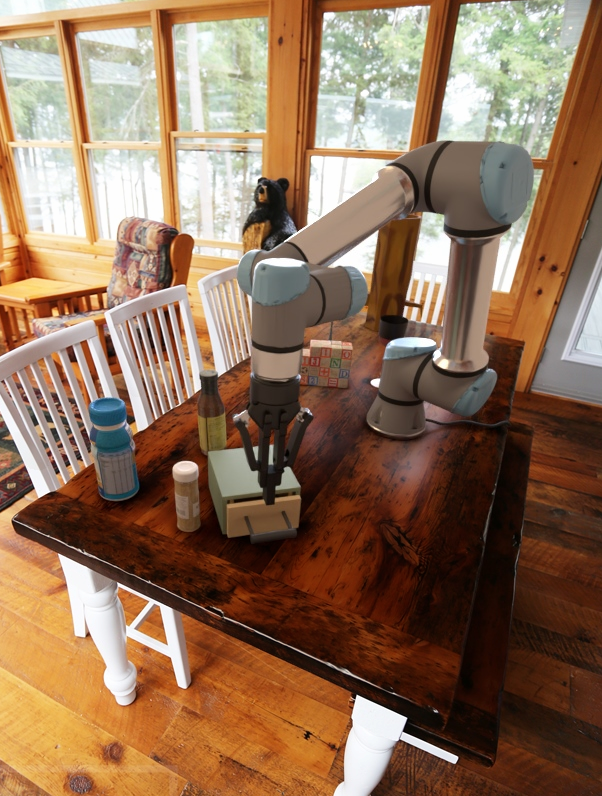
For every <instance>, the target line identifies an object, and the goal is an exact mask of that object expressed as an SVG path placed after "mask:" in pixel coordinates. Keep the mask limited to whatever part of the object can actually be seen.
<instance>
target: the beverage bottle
mask: <svg viewBox="0 0 602 796" xmlns="http://www.w3.org/2000/svg"><path fill="white" fill-rule="evenodd" d="M126 406H127V405H126V403H125V401H124V400H123V399H121V398H117V397H112V396H108V397H100V398H97V399H94V400H93V401H91V402H90V403H89V404H88V408H87V409H88V414H89V419H90V420H89V421H90V422H91V424H92V426H91V428H90V431H89V436H88V438H89V442H90V453H91V456H92V458H93V464H94V469H95V475H96V480H97V490H98V493H99V495H100V497H101V498H103V499H104V500H107V501H111V502H122V501H125V500H130V498H133V497H134V496H136V494H137V493H138V491H139V490H140V481H139V478H138V472H137V463H136V462H137V461H136V452H135V451H136V444H135V441H134V440H133V437H134V433H133V430H132V427H131V426H130V424H129V423H128V422H127V417H128V415H127V407H126Z"/></svg>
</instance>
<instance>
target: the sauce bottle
mask: <svg viewBox="0 0 602 796" xmlns="http://www.w3.org/2000/svg"><path fill="white" fill-rule="evenodd" d="M198 376H199V378H198V379H199V381H200V393H199V395H198V397H197V400H196V408H197V412H196V413H197V424H198V425H197V426H198V436H199V437H198V438H199V447H200V451H201V454H202V455H205V456H207V457H208V452H209V451H219V450H227V445H228V441H227V423H226V408H225V404H224V402H223V400H222V396H221V393H220V391H219V382H218V380H219V372H218V371H216V370H215V369H204V370H201V371H199V373H198Z"/></svg>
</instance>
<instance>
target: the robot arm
mask: <svg viewBox="0 0 602 796" xmlns="http://www.w3.org/2000/svg"><path fill="white" fill-rule="evenodd" d="M534 181H535V169H534V163H533V159H532V155H531V154H530V153H529V151H528V149H527V148H526V147H525V146H523V145H521V144H518V143H510V142H509V143H507V142H505V141H501V140H497V141H490V140H489V141H487V140H485V141H484V140H483V141H481V140H479V141H478V140H477V141H476V140H447V139H446V140H445V139H443V140H438V141H432V142H428V143H426V144H423V145H421V146H419V147H416V148H414V149H412V150H410V151H408V152H406V153H404V154H402V155H400V156H399V157H397V158H395V159H393V160H392V161H390V162H388V163H387V164H386V165H383V167H381V168H380V169H378V170H377V171H376V173H375V174H374V176H373V177H372V181H371V182H370V183H368V184H367V185H365V186H364V187H362V188H361V189H359V190H358V191H356V192H355V193H353V194H352V195H351V196H349V197H347V198H346V199H344V200H343V201H342V202H340V203H338V204H337V205H336V206H334V207H333V208H331V209H330V210H328V211H327V212H325V213H324V214H322V215H321V216H320V217H318V218H317V219H315V220H314V221H312V222H310V223H309V224H308V225H306V226H305V227H303V228H302V229H300V230H299V231H298V232H296V233H294V234H293V235H291V236H290V237H288V238H287V239H285V240H284V241H283V242H281V243H280V244H278V245H277V246H275V247H273V248H272V249H270V250H268V251H267V250H266V249H252V250H249V251H247V252H245V254H244V255H243V256H242V257H241V258H240V260H239V262H238V264H237V267H236V280H237V284H238V286H239V288H240V290H241V291H242V292H243V293H244V294H246V295H247V296H249V297H251V338H250V339H251V342H250V343H251V344H250V345H251V347H250V371H251V372H250V374H249V399H248V403H247V404H246V406H245V410H244V411H242V412H241V413H239V414H238V413H234V414H232V416H231V420H232V422H233V424H234V426H235V428H236V429H237V430H238V431H239V435H240V439H241V444H242V448H244V451H245V455H246V459H247V462H248V465H249V467H250V469H251V471H258V483H259V485H260V488H263V492H262V497H263V499H264V501H265V504H266V506H268V505H275V492H276V486H280V485H281V481H282V474H283V473H284V472H285V470H284V468H285V467H290V468H292V467H294V466H295V463H296V460H297V457H298V454H299V452H300V448H301V445H302V442H303V441H304V438H305V434H306V432H307V429H308V428H309V426H310V425H311V423H312V422H313V421H314V419H315V417H314V415H313V413H312V411H310V409H309V408H308V407H302V404H301V402H300V399H299V398H300V393H301V391H300V390H301V384H300V381H301V376H300V375H299V374H300V373H301V370H302V357H303V349H304V344H305V335H306V329H309V328H313V327H315V326H320V325H324V324H328V323H331V322H333V323H334V322H338V321H339V322H340V321H344V320H346V319H347V318H350V317H353V316H356V315H357V314H359V313H360V312H361V311H363V309H364V307H365V306H364V305H365V303H366V301H367V294H368V291H369V287H368V282H367V279H366V277H365V275H364V273H362V271H361V270H360V269H358V268H357V267H355V266H352V265H344V266H343V265H337V266H335V267H329V266H331V265H333V264H334V263H335V262H336V261H338V260H339V259H340V258H342V257H343V256H345V255H346V254H348V253H349V252H351V251H352V250H353V249H354V248H356V247H357V246H359V245H360V244H361V243H363V242H364V241H366V240H367V239H368V238H369V237H371V236H372V235H374V234H376V232H378V231H379V229H381V228H382V227H383V226H385V225H386V224H387V223H389V222H390V221H392V220H395V221H397V220H401V219H404V218H405V217H407V216H408V215H409V214H412V215H413V214H416V213H431V214H436V215H442V216H443V229H442V230H443V233H444V234H445V236H447V237H448V238H449V239H450V243H449V244H450V245H449V255H448V266H447V278H446V285H445V297H444V306H443V317H442V326H441V327H442V330H441V340H440V347H438V345H437V342H435V341H434V340H433V339H430V338H425V337H413V336H410V337H404V338H399V339H395V340H393V341H391V342H389V343H388V345H387V346H386V347H385V349H384V354H383V357H382V365H381V370H380V377H379V379H380V382H379V388H377V389H378V390H377V395H376V397H375V399H374V401H373V402H372V404H371V406H370V408H369V410H368V412H367V414H366V417H365V426H366V427H367V429H369V430H370V431H371V432H373V433H374V434H375V435H378V436H380V437H383V438H386V439H391V440H398V441H407V440H408V441H409V440H415V439H418V438H420V437H421V436H423V435H424V433H425V431H426V426H427V422H428V423H432V424H435V425H439V426H453V425H456V424H468V425H474V426H478V427H483V428H489V429H492V428H493V429H494V428H498V427H500V426H503V425H507V426H508V427H512V424H511V423H510V422H509V421H508V420H503V421H500V422H498V423H495V424H486V423H482V422H476V421H473V420H465V419H462V420H461V419H460V420H453V421H447V422H443V421H438V420H435V419H431V418H428V417H426V411H425V404H424V403H428V404H430V405H432V406H435V407H437V408H439V409H442V410H444V411H446V412H449V413H450V414H456V415H459V416H461V417H463V418H466V417H468V418H469V417H472V416H473V415H475V414H476V413H477V412H478V411H479V410H481V409H482V407H483V406H484V405H485V403H486V402H487V400H489V398H490V396H491V394H492V393H493V391H494V389H495V386H496V384H497V380H498V374H497V372H496V371H495V370H494V369H493V368H488V366H489V360H490V356H489V354H488V352H487V351H486V350H485V349H484V345H485V338H486V333H487V326H488V319H489V313H490V312H489V311H490V308H491V307H490V306H491V299H492V294H493V288H494V281H495V275H496V269H497V262H498V255H499V251H500V250H499V249H500V242H501V238H502V237H503V236H504V235H506V234H507V233H509V231H510V230H511V229H512V226H513V224H514V223H516V222H517V221H518V220H520V219H521V217H522V216H523V215H524V213H525V212H526V210H527V208H528V202H529V201H530V200H531V197H532V194H533V193H532V192H533V188H534ZM250 419H251V421H253V422H254V423H255V425H256V426H257V427H258V439H257V440H258V443H257V446H258V460H256V458H255V454H254V450H253V447H254V446H253V442H252V438H251V434H250V431H249V429H248V428H249V426H250ZM293 420H294V422H293ZM292 422H293V425H292V428H291V431H290V434H289V437H288V440H287V443H286V437H287V435H288V427H289V425H290V424H291V423H292ZM272 431H273V443H272V445H273V465H272V464H270V465H269V448H270V445H271V438H272Z"/></svg>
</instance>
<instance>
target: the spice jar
mask: <svg viewBox="0 0 602 796" xmlns="http://www.w3.org/2000/svg"><path fill="white" fill-rule="evenodd" d="M199 474H200V473H199V466H198V464H197V463H195V462H193V461H190V460H182V461H178V462H176V463H174V465H173V467H172V478H173V481H174V482H173V483H174V500H175V509H176V510H175V511H176V517H177V518H176V520H177V523H176V526H177V529H178V530H180V531H182V532H184V533H193V532H195V531H197V530H198V529H199V528H201V524H202V523H201V513H200V512H201V511H200V509H201V508H200V492H199Z"/></svg>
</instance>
